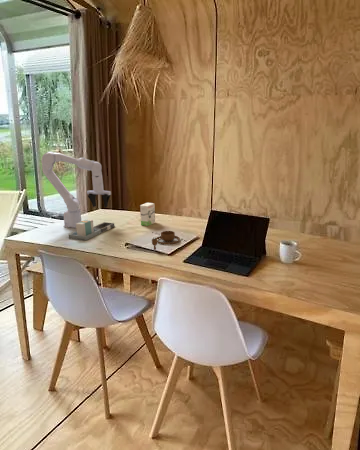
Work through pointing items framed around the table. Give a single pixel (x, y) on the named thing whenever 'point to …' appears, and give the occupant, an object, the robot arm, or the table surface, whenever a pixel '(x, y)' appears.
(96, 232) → the tray
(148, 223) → the ink box
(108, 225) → the frame
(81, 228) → the beige teal carton
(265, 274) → the table surface
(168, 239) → the place setting
